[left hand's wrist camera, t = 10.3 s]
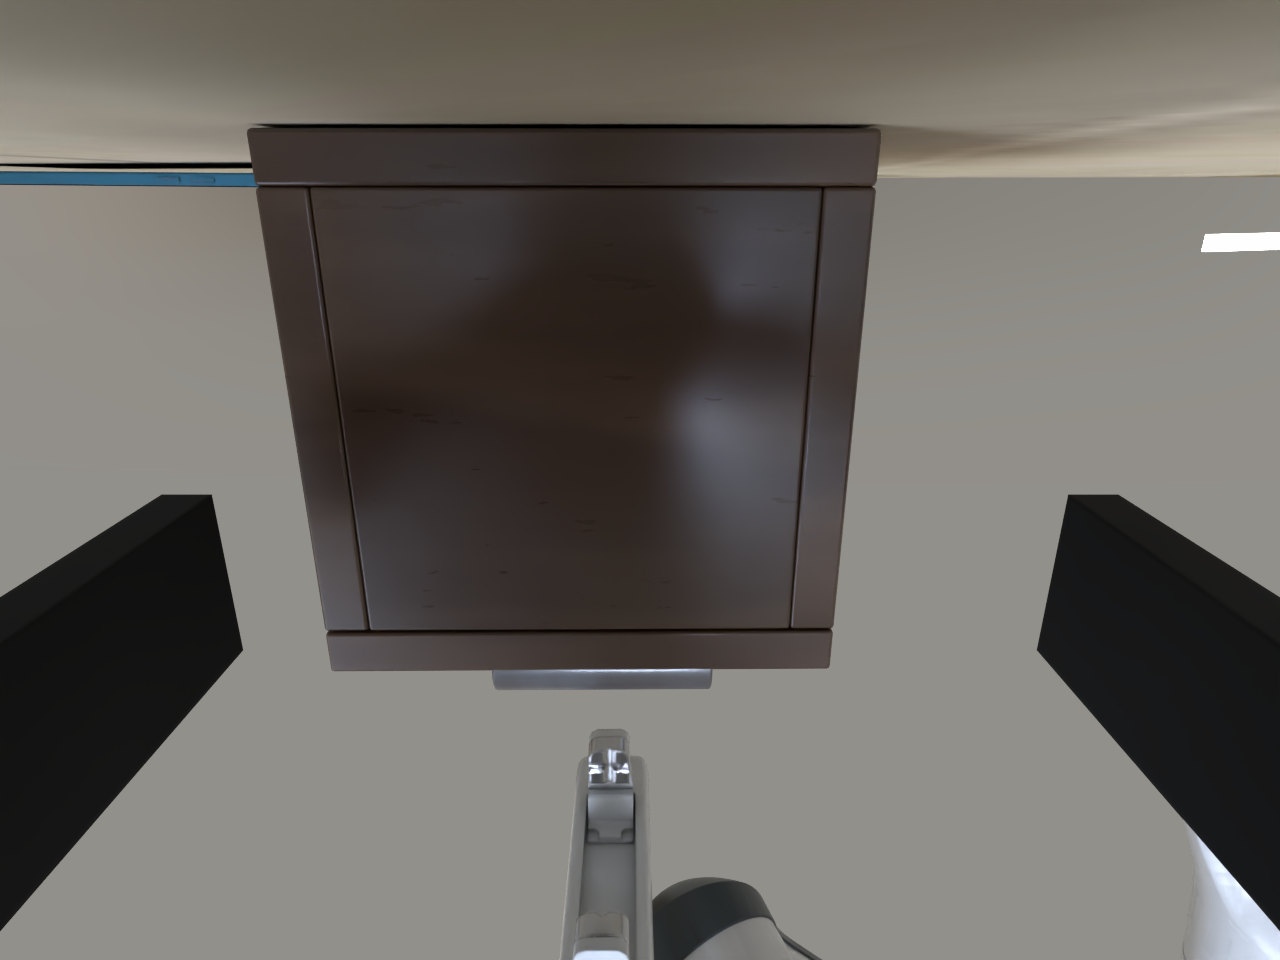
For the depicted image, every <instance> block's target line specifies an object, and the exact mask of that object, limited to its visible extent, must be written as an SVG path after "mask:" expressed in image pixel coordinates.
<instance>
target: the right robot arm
mask: <svg viewBox="0 0 1280 960" xmlns="http://www.w3.org/2000/svg"><path fill="white" fill-rule="evenodd" d="M1273 249H1280V233H1248V234H1206V235H1205V239H1204V243H1203V247H1202V251H1204V252H1211V251H1242V250H1273ZM1183 822H1184V826H1185V829H1186V832H1187V836H1188V840H1189V844H1190V849H1191V855H1192V864H1193V877H1192V887H1191V895H1190V904H1189V910H1188V917H1187V923H1186V928H1185V934H1184V939H1183V945H1182V952H1181V959H1180V960H1280V931H1279V930H1278V929H1277V927H1276V926H1275V925H1274V924H1273V923H1272V922H1271V920H1270V919H1269V918H1268V917H1267V916H1266V915H1265V913H1264V912H1263V911H1262V910H1261V909H1260V908H1259V907H1258V905H1257V904H1256V903H1255V902H1254V901H1253V900H1252V898H1251V897H1250V896H1249V895H1248V894H1247V893H1246V891H1245V890H1244V889H1243V888H1242V887H1241V886H1240V885H1239V883H1238V882H1237V881H1236V880H1235V879H1234V878H1233V876H1232V875H1231V874H1230V873H1229V872H1228V871H1227V869H1226V868H1225V867H1224V866H1223V865H1222V864H1221V863H1220V861H1219V860H1218V859H1217V858H1216V857H1215V856H1214V854H1213V853H1212V852H1211V851H1210V850H1209V849H1208V848H1207V846H1206V845H1205V844H1204V843H1203V842H1202V841H1201V839H1200V838H1199V837H1198V836H1197V835H1196V834H1195V832H1194V831H1193V830H1192V829H1191V828H1190V827H1189V826H1188V824H1187V823H1186V822H1185V821H1184V820H1183ZM559 960H821V959H820V958H818V957H817V956H815V955H814V954H812V953H811V952H809V951H808V950H806V949H805V948H803V947H802V946H800V945H799V944H797V943H796V942H794V941H793V940H791V939H790V938H789V937H787V936H786V935H785V934H784V933H782V932H781V931H780V930H779V929H778V928H777V926H776V924H775V921H774V919H773V917H772V916H771V914H770V912H769V910H768V908H767V906H766V904H765V902H764V900H763V898H762V897H761V895H760V894H759V893H758V891H757V890H756V889H754V888H753V887H752V886H750V885H748V884H746V883H743V882H739V881H735V880H730V879H724V878H714V877H703V878H693V879H688V880H684V881H681V882H678V883H676V884H674V885H672V886H670V887H668V888H667V889H665V890H664V891H662V892H661V893H660V894H659V895H658V896H656V897H655V898H654V899H653V900H652V878H651V845H650V810H649V778H648V769H647V764H646V762H645V760H644V759H643V758H642V757H639V756H632V755H630V736H629V734H628V732H626V731H625V730H623V729H597V730H595V731H593V732H592V733H591V735H590V743H589V756H587V757H584V758H583V759H582V760H581V761H580V763H579V766H578V770H577V778H576V788H575V798H574V809H573V820H572V830H571V841H570V852H569V862H568V873H567V884H566V895H565V905H564V916H563V927H562V937H561V948H560V959H559Z"/></svg>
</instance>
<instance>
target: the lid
mask: <svg viewBox="0 0 1280 960" xmlns="http://www.w3.org/2000/svg"><path fill="white" fill-rule="evenodd" d="M832 636H833V632H832V630H831V628H791V627H790V625H789V627H788V628H739V629H541V630H370V627H369V629H368V630H329V631H328V633H327V635H326V637H327V643H328V650H329V656H330V662H331V669H332V670H333V671H441V670H442V671H444V670H492V676H493V683H494V686H495V689H497V690H587V689H588V690H590V689H709V688H710V687H711V683H712V669H801V668H802V669H804V668H829V665H830V656H831V646H832Z"/></svg>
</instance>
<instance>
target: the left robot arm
mask: <svg viewBox="0 0 1280 960" xmlns="http://www.w3.org/2000/svg"><path fill="white" fill-rule="evenodd" d="M242 651H243V647H242V642H241V637H240V632H239V628H238V623H237V618H236V613H235V608H234V603H233V598H232V593H231V588H230V583H229V578H228V573H227V568H226V563H225V558H224V553H223V548H222V543H221V539H220V533H219V529H218V524H217V519H216V514H215V509H214V504H213V499H212V495H160V496H159V497H157V498H156V499H154V500H153V501H151V502H149V503H148V504H146V505H145V506H143V507H142V508H140V509H138V510H137V511H135V512H134V513H132V514H131V515H129V516H127V517H126V518H124V519H123V520H121V521H120V522H118V523H116V524H115V525H113V526H112V527H110V528H109V529H107V530H105V531H104V532H102V533H101V534H99V535H98V536H96V537H94V538H93V539H91V540H90V541H88V542H86V543H85V544H83V545H82V546H80V547H79V548H77V549H75V550H74V551H72V552H71V553H69V554H68V555H66V556H64V557H63V558H61V559H60V560H58V561H57V562H55V563H53V564H52V565H50V566H49V567H47V568H46V569H44V570H42V571H41V572H39V573H38V574H36V575H35V576H33V577H31V578H30V579H28V580H27V581H25V582H23V583H22V584H20V585H19V586H17V587H16V588H14V589H12V590H11V591H9V592H8V593H6V594H5V595H3V596H2V597H0V931H1V930H2V929H3V927H4V926H5V925H6V924H7V923H8V922H9V920H10V919H11V918H12V917H13V916H14V915H15V913H16V912H17V911H18V910H19V909H20V908H21V907H22V905H23V904H24V903H25V902H26V901H27V900H28V898H29V897H30V896H31V895H32V894H33V893H34V891H35V890H36V889H37V888H38V887H39V886H40V885H41V883H42V882H43V881H44V880H45V879H46V877H47V876H48V875H49V874H50V873H51V872H52V871H53V869H54V868H55V867H56V866H57V865H58V864H59V862H60V861H61V860H62V859H63V858H64V857H65V856H66V854H67V853H68V852H69V851H70V850H71V849H72V848H73V846H74V845H75V844H76V843H77V842H78V841H79V839H80V838H81V837H82V836H83V835H84V834H85V832H86V831H87V830H88V829H89V828H90V827H91V826H92V824H93V823H94V822H95V821H96V820H97V819H98V817H99V816H100V815H101V814H102V813H103V812H104V810H105V809H106V808H107V807H108V806H109V805H110V804H111V802H112V801H113V800H114V799H115V798H116V797H117V795H118V794H119V793H120V792H121V791H122V790H123V788H124V787H125V786H126V785H127V784H128V783H129V782H130V780H131V779H132V778H133V777H134V776H135V775H136V773H137V772H138V771H139V770H140V769H141V768H142V766H143V765H144V764H145V763H146V762H147V761H148V759H149V758H150V757H151V756H152V755H153V754H154V753H155V751H156V750H157V749H158V748H159V747H160V746H161V744H162V743H163V742H164V741H165V740H166V739H167V737H168V736H169V735H170V734H171V733H172V732H173V731H174V729H175V728H176V727H177V726H178V725H179V724H180V723H181V721H182V720H183V719H184V718H185V717H186V716H187V714H188V713H189V712H190V711H191V710H192V708H193V707H194V706H195V705H196V704H197V703H198V702H199V701H200V699H201V698H202V697H203V696H204V695H205V694H206V692H207V691H208V690H209V689H210V688H211V687H212V685H213V684H214V683H215V682H216V681H217V680H218V679H219V677H220V676H221V675H222V674H223V673H224V671H225V670H226V669H227V668H228V667H229V666H230V665H231V663H232V662H233V661H234V660H235V659H236V658H237V657H238V655H239V654H240V653H241V652H242ZM1037 651H1038V652H1039V653H1040V654H1041V655H1042V657H1043V658H1044V659H1045V660H1046V661H1047V662H1048V663H1049V665H1050V666H1051V667H1052V668H1053V669H1054V670H1055V672H1056V673H1057V674H1058V675H1059V676H1060V677H1061V679H1062V680H1063V681H1064V682H1065V683H1066V684H1067V685H1068V687H1069V688H1070V689H1071V690H1072V691H1073V692H1074V694H1075V695H1076V696H1077V697H1078V698H1079V699H1080V701H1081V702H1082V703H1083V704H1084V705H1085V706H1086V707H1087V709H1088V710H1089V711H1090V712H1091V713H1092V714H1093V716H1094V717H1095V718H1096V719H1097V720H1098V721H1099V722H1100V724H1101V725H1102V726H1103V727H1104V728H1105V729H1106V731H1107V732H1108V733H1109V734H1110V735H1111V736H1112V738H1113V739H1114V740H1115V741H1116V742H1117V743H1118V745H1119V746H1120V747H1121V748H1122V749H1123V750H1124V751H1125V753H1126V754H1127V755H1128V756H1129V757H1130V758H1131V760H1132V761H1133V762H1134V763H1135V764H1136V765H1137V766H1138V768H1139V769H1140V770H1141V771H1142V772H1143V773H1144V775H1145V776H1146V777H1147V778H1148V779H1149V780H1150V782H1151V783H1152V784H1153V785H1154V786H1155V787H1156V788H1157V790H1158V791H1159V792H1160V793H1161V794H1162V795H1163V797H1164V798H1165V799H1166V800H1167V801H1168V802H1169V803H1170V805H1171V806H1172V807H1173V808H1174V809H1175V810H1176V812H1177V813H1178V814H1179V815H1180V816H1181V817H1182V819H1183V820H1184V821H1185V822H1186V823H1187V824H1188V826H1189V827H1190V828H1191V829H1192V830H1193V831H1194V832H1195V834H1196V835H1197V836H1198V837H1199V838H1200V839H1201V841H1202V842H1203V843H1204V844H1205V845H1206V846H1207V848H1208V849H1209V850H1210V851H1211V852H1212V853H1213V854H1214V856H1215V857H1216V858H1217V859H1218V860H1219V861H1220V863H1221V864H1222V865H1223V866H1224V867H1225V868H1226V869H1227V871H1228V872H1229V873H1230V874H1231V875H1232V876H1233V878H1234V879H1235V880H1236V881H1237V882H1238V883H1239V885H1240V886H1241V887H1242V888H1243V889H1244V890H1245V891H1246V893H1247V894H1248V895H1249V896H1250V897H1251V898H1252V900H1253V901H1254V902H1255V903H1256V904H1257V905H1258V907H1259V908H1260V909H1261V910H1262V911H1263V912H1264V913H1265V915H1266V916H1267V917H1268V918H1269V919H1270V920H1271V922H1272V923H1273V924H1274V925H1275V926H1276V927H1277V929H1278V930H1279V931H1280V597H1279V596H1277V595H1275V594H1274V593H1272V592H1271V591H1269V590H1267V589H1266V588H1264V587H1263V586H1261V585H1260V584H1258V583H1257V582H1255V581H1253V580H1252V579H1250V578H1249V577H1247V576H1245V575H1244V574H1242V573H1241V572H1239V571H1238V570H1236V569H1234V568H1233V567H1231V566H1230V565H1228V564H1227V563H1225V562H1223V561H1222V560H1220V559H1219V558H1217V557H1216V556H1214V555H1212V554H1211V553H1209V552H1208V551H1206V550H1205V549H1203V548H1201V547H1200V546H1198V545H1197V544H1195V543H1194V542H1192V541H1190V540H1189V539H1187V538H1186V537H1184V536H1183V535H1181V534H1179V533H1178V532H1176V531H1175V530H1173V529H1172V528H1170V527H1168V526H1167V525H1165V524H1164V523H1162V522H1160V521H1159V520H1157V519H1156V518H1154V517H1153V516H1151V515H1150V514H1148V513H1146V512H1145V511H1143V510H1142V509H1140V508H1138V507H1137V506H1135V505H1134V504H1132V503H1131V502H1129V501H1127V500H1126V499H1124V498H1123V497H1121V496H1120V495H1068V499H1067V504H1066V509H1065V514H1064V519H1063V524H1062V529H1061V534H1060V538H1059V543H1058V548H1057V553H1056V558H1055V563H1054V568H1053V573H1052V578H1051V583H1050V588H1049V593H1048V598H1047V603H1046V608H1045V613H1044V618H1043V622H1042V627H1041V632H1040V637H1039V642H1038V647H1037Z"/></svg>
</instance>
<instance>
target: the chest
mask: <svg viewBox="0 0 1280 960" xmlns="http://www.w3.org/2000/svg"><path fill="white" fill-rule="evenodd" d="M247 136H248V143H249V149H250V155H251V162H252V168H253V174H254V180H255V183H256V185H258V186H260V187H258V188H257V189H256V194H257V201H258V207H259V214H260V220H261V226H262V232H263V239H264V245H265V251H266V258H267V264H268V270H269V277H270V283H271V289H272V295H273V302H274V308H275V314H276V321H277V327H278V333H279V339H280V346H281V352H282V359H283V365H284V371H285V377H286V384H287V390H288V396H289V403H290V409H291V415H292V421H293V428H294V434H295V441H296V447H297V453H298V459H299V466H300V472H301V478H302V485H303V491H304V497H305V503H306V510H307V516H308V522H309V529H310V535H311V541H312V548H313V554H314V560H315V567H316V573H317V579H318V586H319V592H320V598H321V604H322V611H323V617H324V623H325V629H326V630H368V629H369V627H370V630H541V629H739V628H788V627H789V625H790V627H791V628H832V627H833V624H834V614H835V604H836V594H837V584H838V573H839V563H840V553H841V543H842V533H843V522H844V512H845V502H846V492H847V482H848V471H849V461H850V451H851V441H852V430H853V420H854V410H855V399H856V389H857V379H858V369H859V359H860V349H861V338H862V328H863V318H864V308H865V298H866V287H867V277H868V267H869V257H870V247H871V236H872V226H873V216H874V206H875V195H876V190H875V188H873V187H872V186H874V185H875V184H876V181H877V173H878V162H879V152H880V142H881V131H880V130H879V129H877V128H250V129H248V130H247Z"/></svg>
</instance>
